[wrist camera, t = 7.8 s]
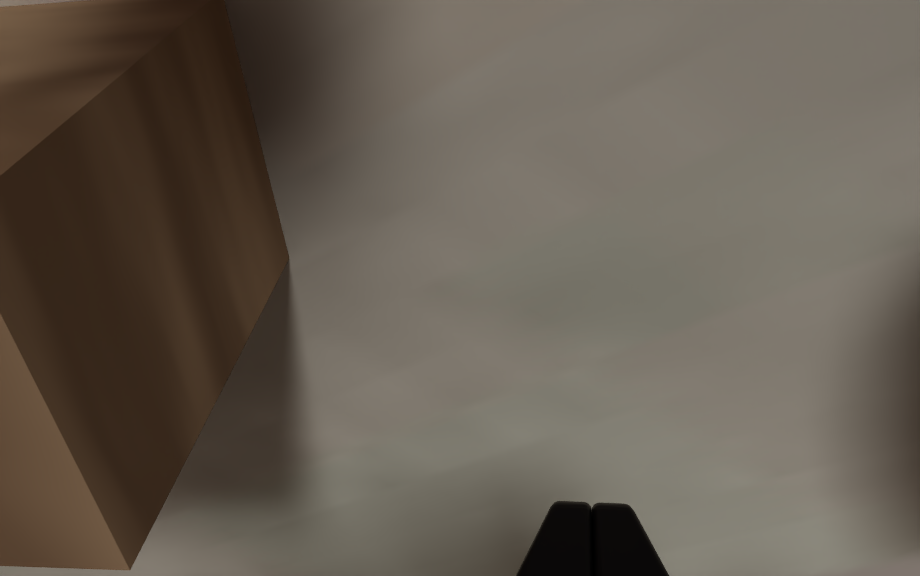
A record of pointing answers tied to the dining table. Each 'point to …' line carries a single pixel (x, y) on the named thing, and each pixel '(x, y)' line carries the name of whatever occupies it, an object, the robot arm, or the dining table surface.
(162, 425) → the wooden block
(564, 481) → the dining table surface
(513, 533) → the dining table surface
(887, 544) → the dining table surface
